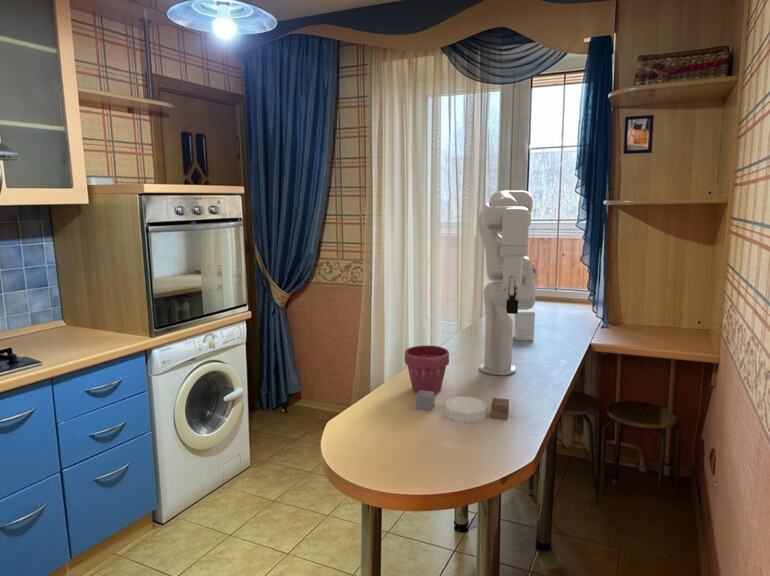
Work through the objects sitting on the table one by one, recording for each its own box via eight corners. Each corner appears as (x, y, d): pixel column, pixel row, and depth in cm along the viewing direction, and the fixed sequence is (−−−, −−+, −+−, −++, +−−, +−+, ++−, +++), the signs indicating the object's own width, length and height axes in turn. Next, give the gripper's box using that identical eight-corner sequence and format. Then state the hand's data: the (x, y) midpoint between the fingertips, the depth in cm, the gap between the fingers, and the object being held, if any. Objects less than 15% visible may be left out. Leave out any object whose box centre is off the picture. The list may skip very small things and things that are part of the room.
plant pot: (397, 384, 179) (397, 347, 177) (436, 379, 184) (436, 343, 182) (415, 400, 166) (415, 359, 164) (456, 394, 171) (457, 354, 169)
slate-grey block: (419, 404, 163) (419, 390, 162) (434, 406, 161) (434, 391, 161) (415, 410, 158) (416, 395, 158) (431, 411, 157) (431, 396, 156)
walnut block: (492, 412, 157) (493, 397, 156) (508, 414, 155) (509, 399, 154) (490, 418, 152) (491, 403, 152) (507, 420, 151) (507, 405, 150)
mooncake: (458, 403, 164) (459, 391, 163) (494, 413, 156) (495, 401, 156) (436, 415, 155) (436, 403, 154) (472, 427, 147) (473, 414, 147)
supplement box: (531, 336, 239) (532, 308, 237) (533, 341, 232) (535, 312, 229) (513, 336, 240) (515, 308, 237) (516, 340, 232) (517, 311, 230)
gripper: (503, 248, 166) (501, 307, 169) (498, 253, 152) (496, 317, 155) (528, 249, 164) (526, 308, 167) (526, 254, 150) (523, 319, 153)
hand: (512, 312), depth 161 cm, fingers closed
